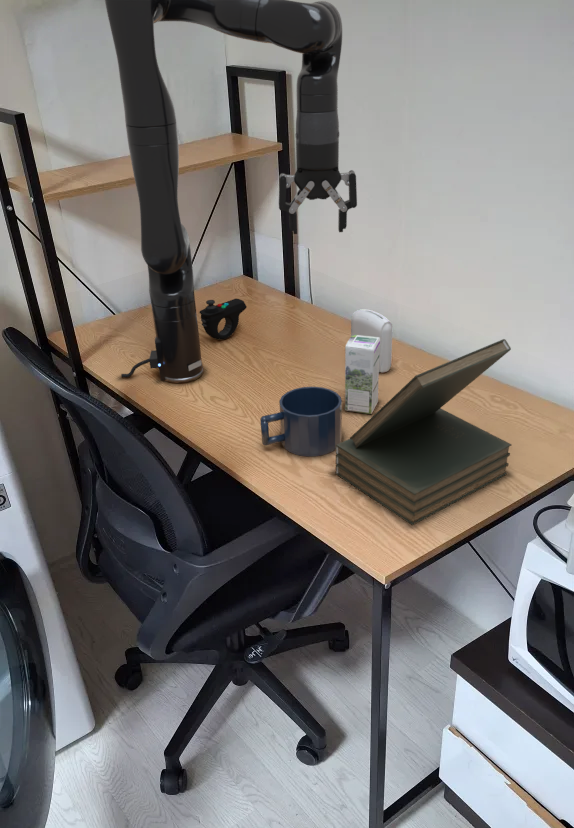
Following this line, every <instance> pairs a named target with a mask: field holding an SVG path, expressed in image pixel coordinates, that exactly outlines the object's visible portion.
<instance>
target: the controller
mask: <svg viewBox="0 0 574 828" xmlns="http://www.w3.org/2000/svg"><path fill="white" fill-rule="evenodd" d="M205 303H206V305H207V306H206V307H205V308H203V309H201V310H199V315H200V322H201V327H203V330H204V332H205V333H206V335H208V336H209V337H210V338H212V339H214V340H217V341H224V340H227V339H228V338H230V337H231V336H233V334H235V332H236V330H237V328H238V326H239V323H240V315H241V314H242V313H243V312H244V311H245V310H246V309H247V305H246V303H245V301H244V299H243V300H242V299H240V298H233V299H230V300H227V301H225V302H222V303H217V304H216V301H215V300H214V299H208V300H206V301H205ZM215 304H216V305H215ZM222 320H224V326H223V328H222V329H221V330H220V331H219V325H220V322H221V321H222Z"/></svg>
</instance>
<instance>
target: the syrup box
mask: <svg viewBox="0 0 574 828" xmlns="http://www.w3.org/2000/svg"><path fill="white" fill-rule="evenodd" d="M344 349H345V350H344V351H345V352H344V353H345V355H344V356H345V357H344V358H345V360H344V361H345V362H344V368H345V369H344V383H345V384H344V411H345V412H352V413H359V414H366V415H372V414H373V412H374V410H375V409H376V406H377V404H378V403H379V379H380V372H379V358H380V337H371V336H361V335H352V336H351V335H350V337H349V339H348V340H347V342H346V343H345V348H344Z"/></svg>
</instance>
